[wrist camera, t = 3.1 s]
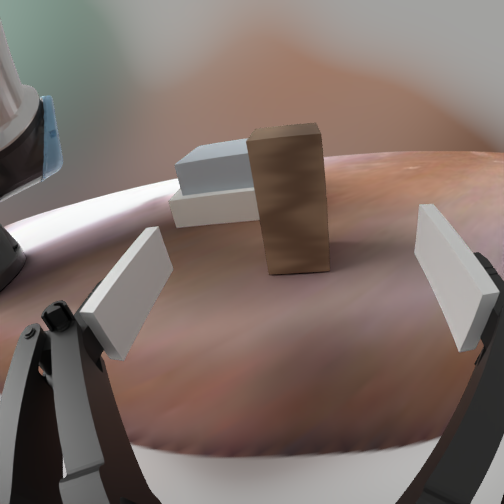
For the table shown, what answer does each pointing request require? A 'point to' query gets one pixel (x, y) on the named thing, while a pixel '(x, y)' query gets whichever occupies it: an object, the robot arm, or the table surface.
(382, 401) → the table surface
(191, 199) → the tower base
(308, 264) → the walnut block
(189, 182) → the tower top
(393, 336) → the table surface
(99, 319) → the robot arm
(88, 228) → the table surface
